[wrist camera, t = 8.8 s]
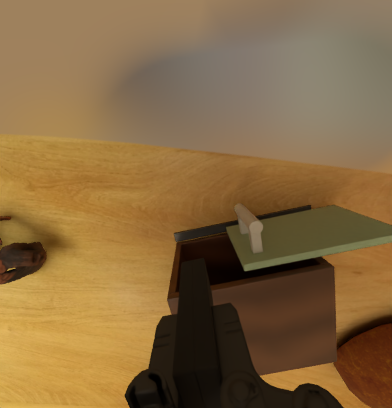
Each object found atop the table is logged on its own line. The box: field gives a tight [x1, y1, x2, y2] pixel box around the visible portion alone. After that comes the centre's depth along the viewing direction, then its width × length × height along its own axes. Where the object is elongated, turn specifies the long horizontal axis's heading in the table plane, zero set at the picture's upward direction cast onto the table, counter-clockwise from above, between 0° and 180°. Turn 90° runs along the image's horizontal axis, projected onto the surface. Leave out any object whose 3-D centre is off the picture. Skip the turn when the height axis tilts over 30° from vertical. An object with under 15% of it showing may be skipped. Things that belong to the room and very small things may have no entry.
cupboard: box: [167, 205, 337, 376], centre depth 25 cm, size 14×21×12 cm, turn 102°
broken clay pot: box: [0, 216, 46, 284], centre depth 27 cm, size 12×10×8 cm
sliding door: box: [226, 203, 392, 271], centre depth 23 cm, size 5×16×10 cm, turn 102°
